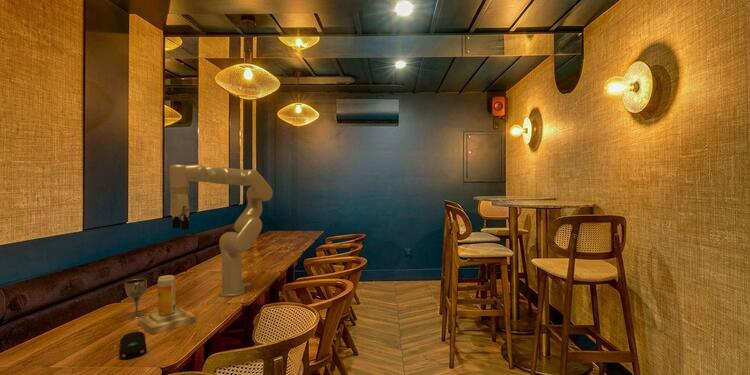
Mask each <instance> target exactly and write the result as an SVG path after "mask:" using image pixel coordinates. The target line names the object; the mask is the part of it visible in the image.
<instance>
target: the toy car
mask: <svg viewBox="0 0 750 375" xmlns="http://www.w3.org/2000/svg"><path fill="white" fill-rule="evenodd" d="M118 351H119V359H120V360H125V359H127V360H128V359H131V358H136V357H140V356H142V355H144V354H146V353H147V343H146V334H145V333H144V332H142V331H138V330H137V329H134V330H133V329H132V330H129V331H128V332H127V333H126V334H124V335H123V336H122V337H121V338H120V341H119V350H118Z"/></svg>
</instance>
